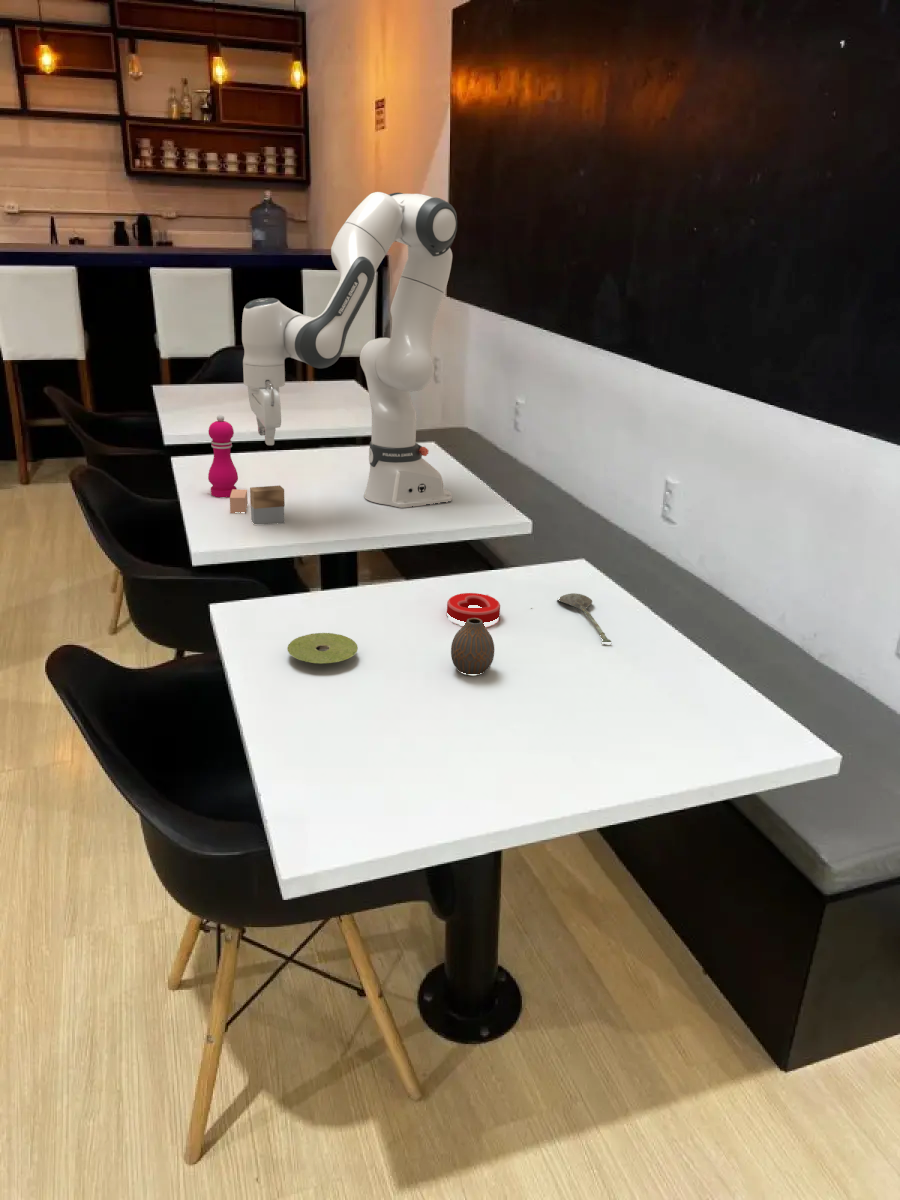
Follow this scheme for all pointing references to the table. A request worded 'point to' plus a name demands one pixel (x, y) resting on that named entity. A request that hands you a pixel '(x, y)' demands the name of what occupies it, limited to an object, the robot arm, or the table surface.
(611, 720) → the table surface
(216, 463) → the pepper mill
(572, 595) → the soupspoon
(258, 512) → the slate-grey brick
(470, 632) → the vase
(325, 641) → the mat
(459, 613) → the decorative ornament
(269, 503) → the walnut brick
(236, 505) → the terracotta brick
